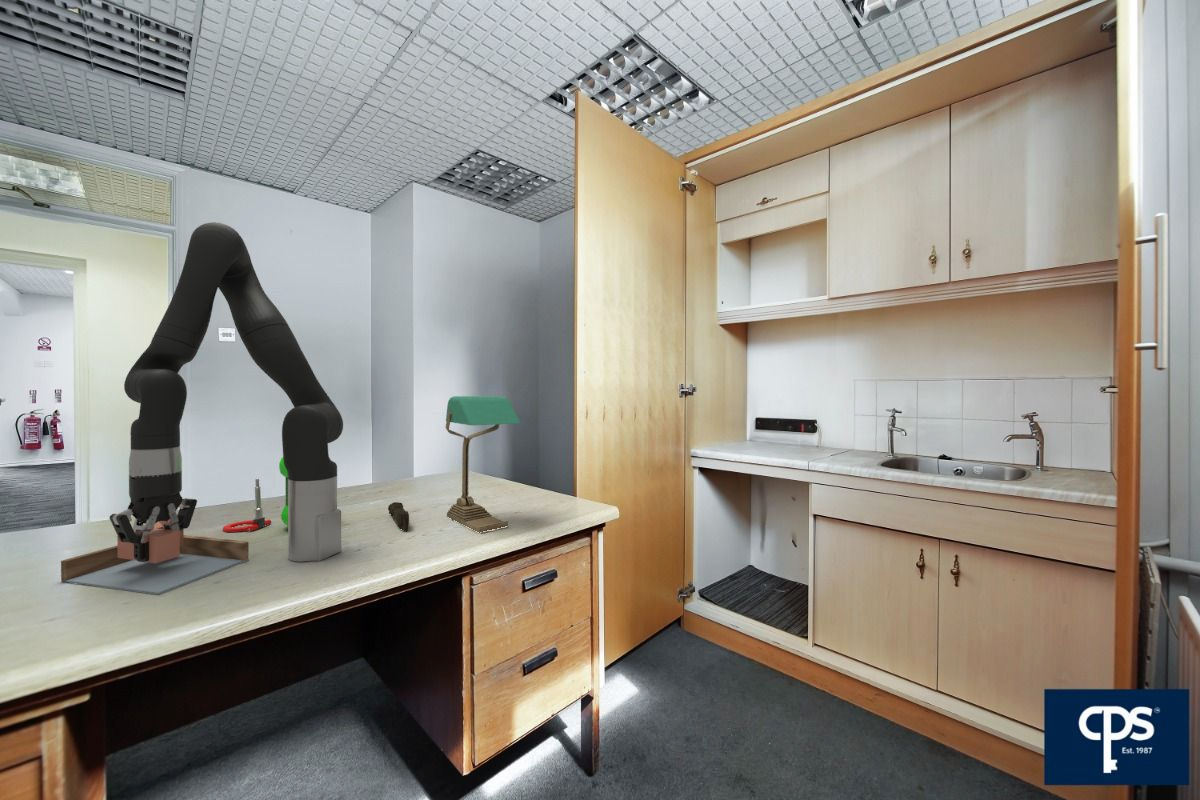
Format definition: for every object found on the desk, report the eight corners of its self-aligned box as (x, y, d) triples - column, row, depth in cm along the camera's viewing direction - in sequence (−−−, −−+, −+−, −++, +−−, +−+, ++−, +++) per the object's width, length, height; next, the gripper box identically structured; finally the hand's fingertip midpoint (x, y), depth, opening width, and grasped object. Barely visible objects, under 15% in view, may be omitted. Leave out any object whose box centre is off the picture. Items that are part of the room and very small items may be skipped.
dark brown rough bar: (388, 516, 134) (388, 500, 134) (403, 514, 136) (403, 498, 136) (394, 535, 118) (394, 517, 118) (411, 532, 120) (411, 515, 119)
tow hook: (214, 534, 117) (249, 533, 116) (211, 482, 117) (246, 482, 116) (241, 524, 125) (274, 523, 125) (239, 476, 125) (272, 476, 125)
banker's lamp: (485, 510, 141) (486, 395, 140) (522, 526, 126) (524, 397, 125) (434, 519, 131) (435, 395, 130) (469, 538, 115) (470, 397, 114)
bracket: (169, 542, 100) (169, 519, 100) (205, 547, 98) (205, 523, 98) (117, 557, 91) (117, 532, 91) (156, 563, 89) (156, 537, 89)
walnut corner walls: (248, 560, 99) (248, 541, 99) (158, 594, 82) (157, 572, 82) (163, 550, 103) (163, 532, 103) (61, 581, 87) (60, 560, 87)
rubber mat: (248, 560, 99) (248, 558, 99) (158, 594, 82) (158, 592, 82) (163, 550, 103) (163, 548, 103) (61, 581, 87) (61, 579, 87)
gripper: (181, 463, 99) (181, 543, 99) (95, 476, 85) (96, 568, 85) (208, 465, 97) (209, 546, 98) (126, 478, 83) (127, 573, 84)
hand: (156, 556), depth 91 cm, fingers closed on bracket, 4 cm apart
